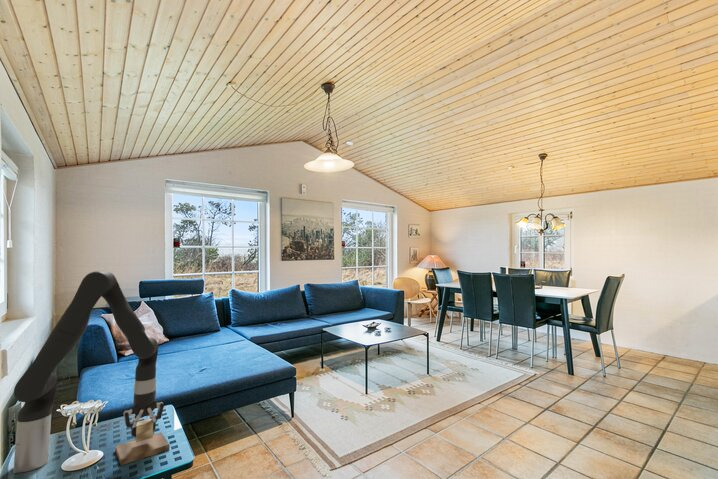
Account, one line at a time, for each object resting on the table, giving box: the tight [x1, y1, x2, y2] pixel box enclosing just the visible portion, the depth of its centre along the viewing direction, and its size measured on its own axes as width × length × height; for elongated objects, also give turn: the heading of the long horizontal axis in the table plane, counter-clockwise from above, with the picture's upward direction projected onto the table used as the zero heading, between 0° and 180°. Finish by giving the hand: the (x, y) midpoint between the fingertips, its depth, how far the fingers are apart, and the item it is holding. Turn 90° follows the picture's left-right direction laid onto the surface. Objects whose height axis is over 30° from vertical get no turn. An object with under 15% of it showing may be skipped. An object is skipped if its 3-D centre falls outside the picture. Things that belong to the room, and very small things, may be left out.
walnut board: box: [114, 432, 171, 466], centre depth 135 cm, size 16×13×2 cm
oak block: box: [133, 418, 153, 442], centre depth 136 cm, size 6×6×6 cm
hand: (143, 433), depth 136 cm, fingers closed on oak block, 5 cm apart
